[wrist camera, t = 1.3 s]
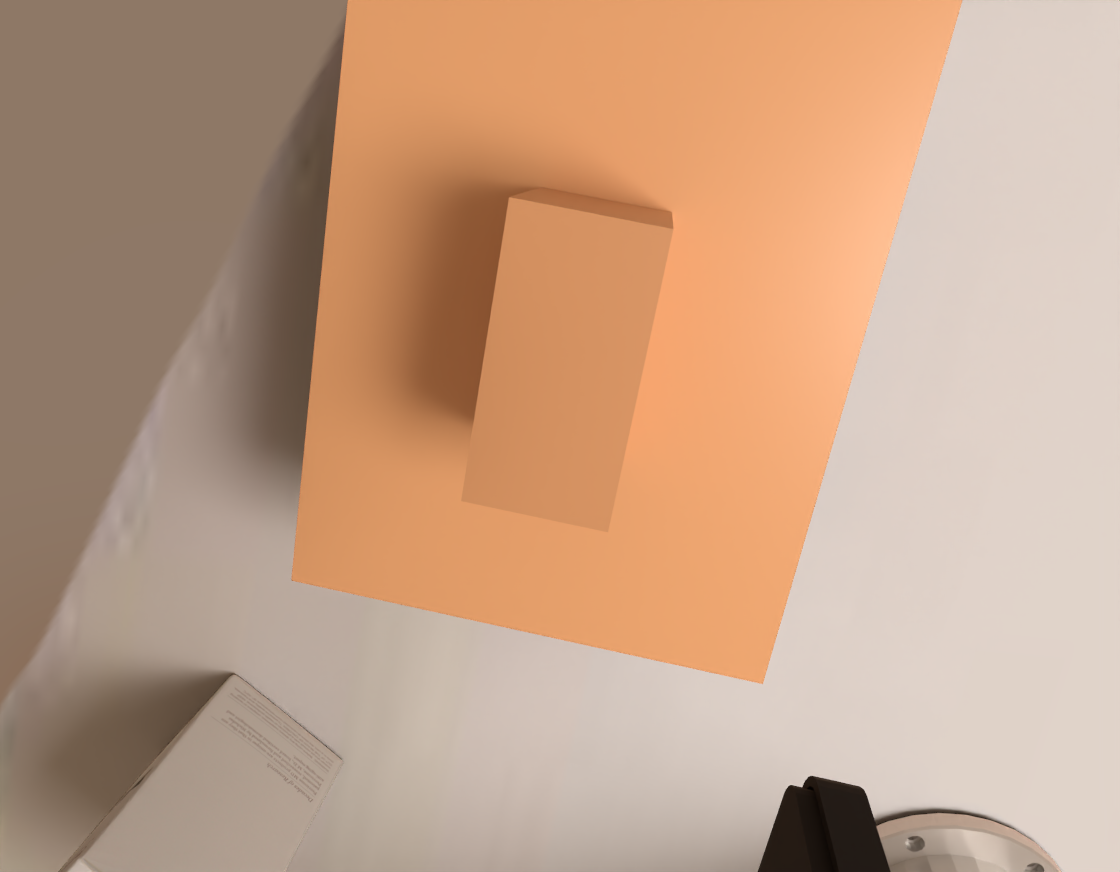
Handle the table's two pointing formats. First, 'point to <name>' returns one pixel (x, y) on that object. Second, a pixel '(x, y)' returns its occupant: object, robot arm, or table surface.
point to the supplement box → (218, 794)
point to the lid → (601, 305)
